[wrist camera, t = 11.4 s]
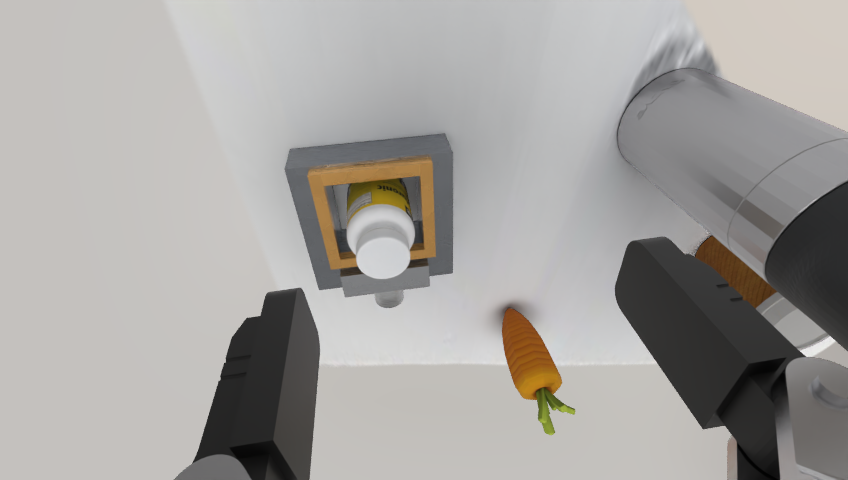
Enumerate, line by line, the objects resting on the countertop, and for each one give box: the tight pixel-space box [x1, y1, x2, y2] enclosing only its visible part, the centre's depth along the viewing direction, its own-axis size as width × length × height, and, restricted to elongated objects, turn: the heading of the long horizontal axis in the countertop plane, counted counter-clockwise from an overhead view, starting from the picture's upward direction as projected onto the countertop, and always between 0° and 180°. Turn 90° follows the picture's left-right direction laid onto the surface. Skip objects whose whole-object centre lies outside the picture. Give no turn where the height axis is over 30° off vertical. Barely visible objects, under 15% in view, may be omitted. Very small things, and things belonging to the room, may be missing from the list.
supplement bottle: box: [347, 178, 415, 279], centre depth 34 cm, size 5×5×10 cm
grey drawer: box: [285, 134, 453, 308], centre depth 38 cm, size 13×17×5 cm
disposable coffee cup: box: [695, 235, 830, 350], centre depth 44 cm, size 10×10×12 cm
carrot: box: [502, 308, 575, 435], centre depth 44 cm, size 5×5×15 cm
